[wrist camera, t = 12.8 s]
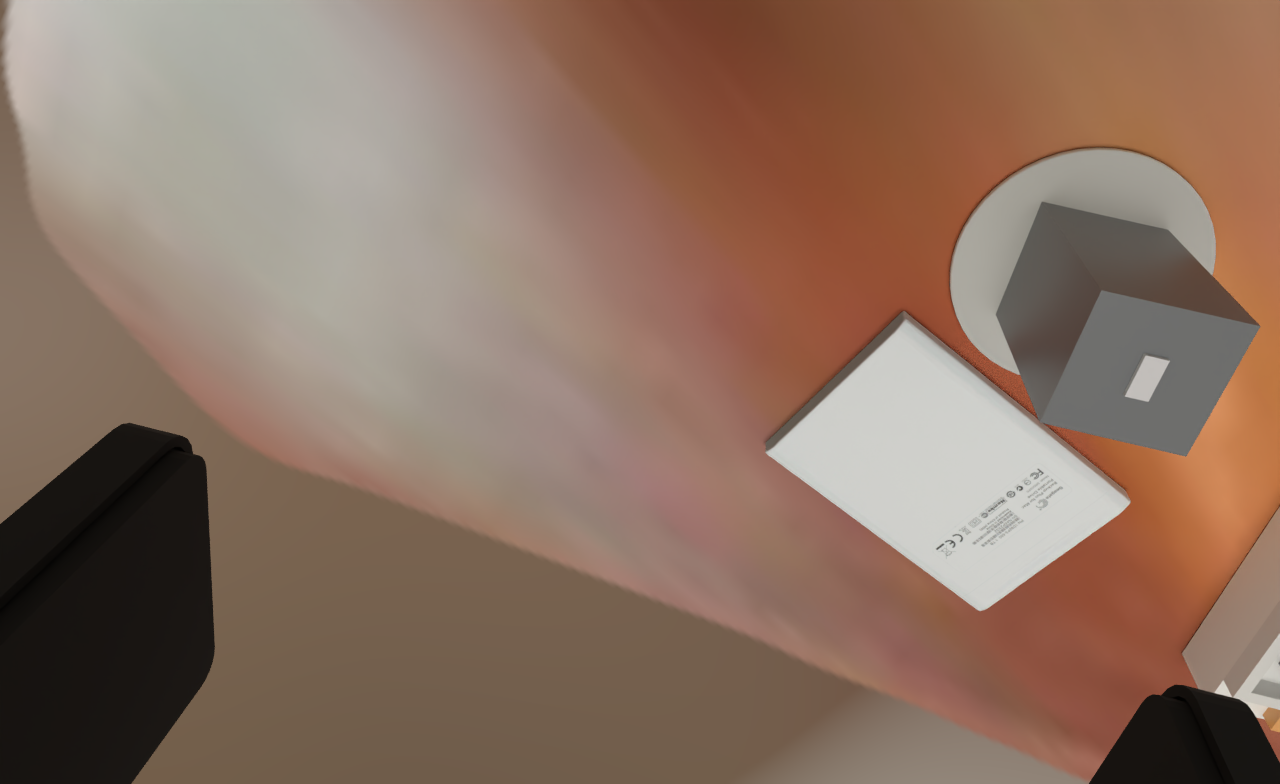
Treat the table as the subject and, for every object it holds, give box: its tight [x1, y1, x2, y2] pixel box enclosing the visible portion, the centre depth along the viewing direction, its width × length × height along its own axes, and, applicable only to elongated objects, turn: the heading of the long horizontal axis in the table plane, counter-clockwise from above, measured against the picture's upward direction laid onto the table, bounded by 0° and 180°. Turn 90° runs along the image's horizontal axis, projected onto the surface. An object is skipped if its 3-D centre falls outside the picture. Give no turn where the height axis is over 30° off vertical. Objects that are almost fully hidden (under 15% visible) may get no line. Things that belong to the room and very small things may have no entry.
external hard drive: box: [765, 311, 1131, 611], centre depth 40 cm, size 2×8×12 cm
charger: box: [996, 202, 1260, 456], centre depth 32 cm, size 4×4×8 cm
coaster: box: [950, 147, 1216, 375], centre depth 35 cm, size 9×9×1 cm
